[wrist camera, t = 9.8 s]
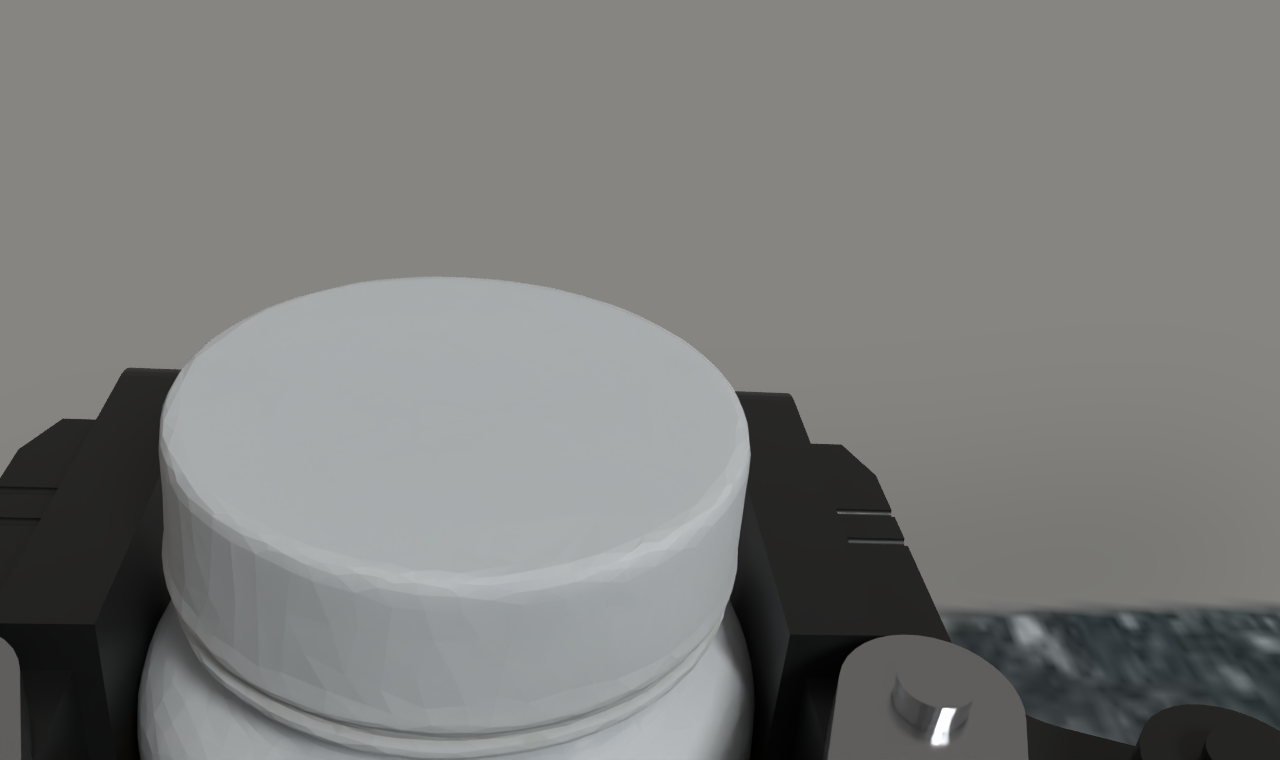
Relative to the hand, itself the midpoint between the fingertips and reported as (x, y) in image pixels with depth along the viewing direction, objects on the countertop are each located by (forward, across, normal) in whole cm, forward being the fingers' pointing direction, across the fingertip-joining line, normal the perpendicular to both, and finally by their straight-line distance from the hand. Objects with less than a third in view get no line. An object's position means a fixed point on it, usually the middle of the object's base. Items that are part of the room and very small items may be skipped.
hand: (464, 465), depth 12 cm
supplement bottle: (-3, 0, +6) cm, 7 cm away
